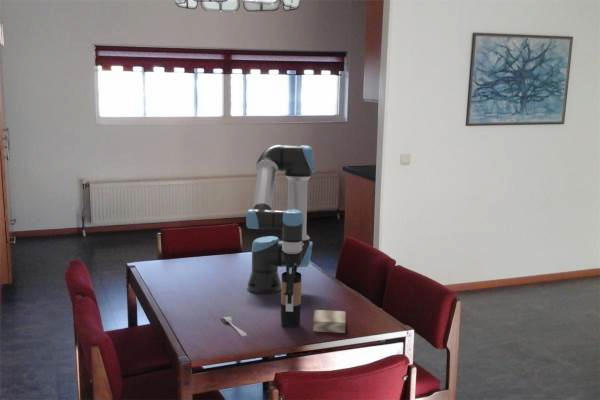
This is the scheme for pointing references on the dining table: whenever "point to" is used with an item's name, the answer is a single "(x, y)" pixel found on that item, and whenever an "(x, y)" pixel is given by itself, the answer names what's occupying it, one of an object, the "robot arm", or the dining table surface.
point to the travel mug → (293, 317)
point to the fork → (235, 326)
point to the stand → (329, 321)
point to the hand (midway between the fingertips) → (290, 305)
